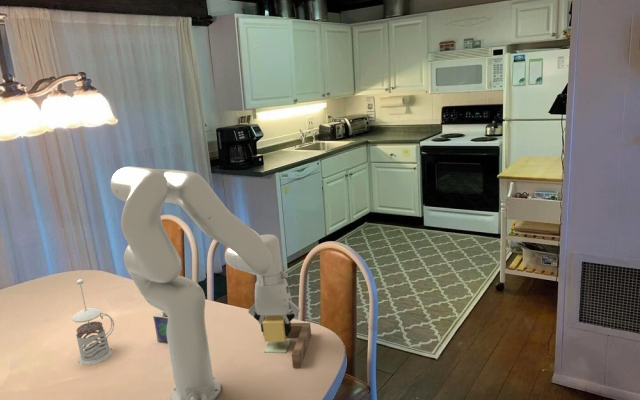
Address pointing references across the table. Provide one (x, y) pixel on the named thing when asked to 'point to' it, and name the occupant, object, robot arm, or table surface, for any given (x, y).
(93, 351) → the french press
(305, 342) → the brown l-shaped piece
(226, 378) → the table surface
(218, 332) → the table surface
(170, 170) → the robot arm
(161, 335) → the purple clover tin
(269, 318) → the cube
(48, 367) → the table surface
